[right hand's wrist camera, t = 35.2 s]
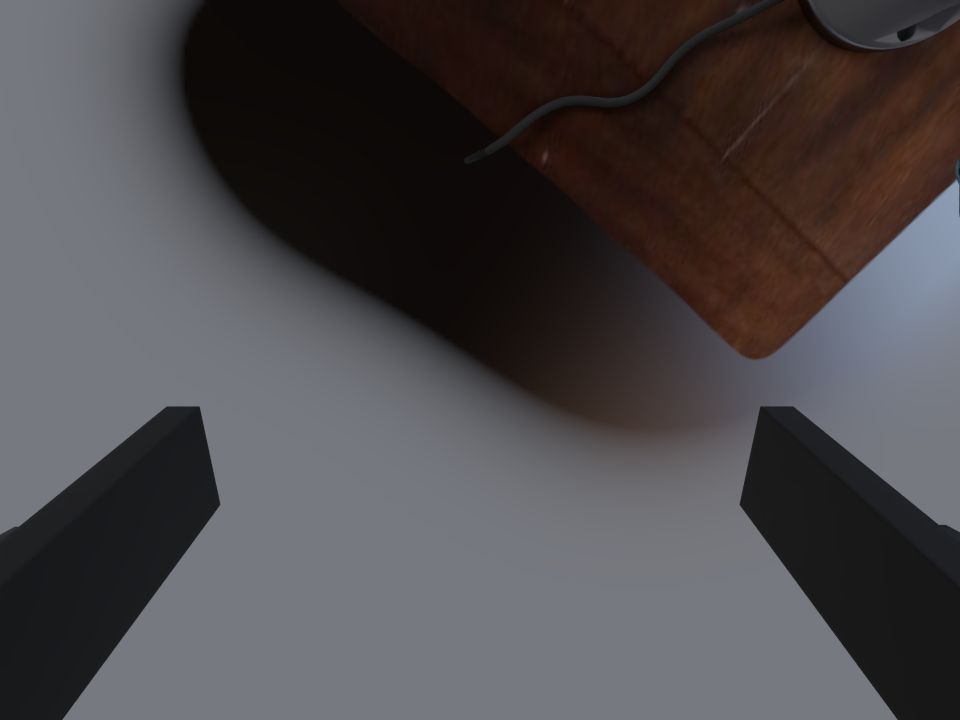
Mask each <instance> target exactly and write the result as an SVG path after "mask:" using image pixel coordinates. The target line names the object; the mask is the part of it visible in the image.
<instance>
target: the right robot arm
mask: <svg viewBox="0 0 960 720" xmlns="http://www.w3.org/2000/svg"><path fill="white" fill-rule="evenodd" d="M782 1H784V0H763V1H761V2H759V3H757V4H755V5H753V6H751V7H749V8H747V9H745V10H743V11H741V12H739V13H737V14H735V15H733V16H731V17H729V18H727V19H724V20H722V21H720V22H718V23H716V24H714V25H712V26H710V27H708V28H707V29H705V30H703V31H701V32H700V33H698V34H697V35H695V36H694V37H692V38H691V39H689V40H688V41H687V42H685V43H684V44H683V45H682V46H681V47H679V48H678V49H677V50H676V51H675V52H674V53H673V54H672V55H671V57H670V58H669V59H668V60H667V61H666V62H665V64H664V65H663V66H662V67H661V68H660V70H659V71H658V72H657V73H656V74H655V75H654V76H653V78H652V79H651V80H650V81H649V82H648V83H646V84H645V85H644V86H643V87H641V88H640V89H638V90H637V91H635V92H633V93H631V94H629V95H626V96H623V97H618V98H601V97H592V96H567V97H562V98H559V99H556V100H553V101H551V102H549V103H547V104H545V105H543V106H541V107H539V108H538V109H536V110H535V111H533V112H532V113H530V114H529V115H528V116H527V117H525V118H524V119H523V120H522V121H520V122H519V123H518V124H517V125H516V126H514V127H513V128H512V129H511V130H510V131H509V132H507V133H506V134H505V135H504V136H502V137H501V138H500V139H498V140H497V141H495V142H494V143H492V144H491V145H489V146H487V147H486V148H484V149H482V150H481V151H478V152H475V153H473V154H472V155H470V156H468V157H466V158H465V159H464V162H465V163H466V164H469V163H472V162H474V161H476V160H480V159H483V158H485V157H487V156H489V155H491V154H492V153H494V152H496V151H497V150H499V149H500V148H502V147H503V146H505V145H506V144H507V143H509V142H510V141H511V140H513V139H514V138H515V137H516V136H517V135H519V134H520V133H521V132H522V131H523V130H525V129H526V128H527V127H528V126H529V125H531V124H532V123H533V122H535V121H536V120H537V119H539V118H540V117H542V116H544V115H545V114H547V113H549V112H551V111H553V110H556V109H558V108H561V107H565V106H571V105H585V106H594V107H604V108H613V107H621V106H625V105H628V104H631V103H633V102H635V101H637V100H639V99H641V98H642V97H644V96H645V95H647V94H648V93H649V92H650V91H652V90H653V89H654V88H655V87H656V86H657V85H658V84H659V82H660V81H661V80H662V79H663V78H664V77H665V76H666V74H667V73H668V72H669V71H670V70H671V68H672V67H673V66H674V65H675V64H676V63H677V62H678V61H679V60H680V59H681V58H682V57H683V56H684V55H685V54H686V53H687V52H688V51H690V50H691V49H692V48H694V47H695V46H697V45H698V44H700V43H701V42H703V41H704V40H706V39H708V38H710V37H712V36H713V35H715V34H717V33H720V32H722V31H724V30H726V29H728V28H730V27H732V26H735V25H737V24H739V23H741V22H743V21H745V20H747V19H749V18H751V17H753V16H755V15H757V14H759V13H761V12H763V11H764V10H766V9H768V8H770V7H772V6H774V5H776V4H778V3H780V2H782ZM799 3H800V6H801V8H802V10H803V12H804V14H805V16H806V17H807V19H808V20H809V22H810V23H811V24H812V26H813V27H814V28H815V29H816V30H817V31H818V32H819V33H820V34H821V35H822V36H823V37H825V38H826V39H827V40H829V41H830V42H832V43H834V44H835V45H838V46H840V47H842V48H845V49H849V50H852V51H858V52H882V51H887V50H892V49H896V48H900V47H904V46H908V45H911V44H915V43H917V42H920V41H922V40H925V39H927V38H929V37H931V36H933V35H935V34H937V33H938V32H940V31H942V30H944V29H945V28H947V27H949V26H950V25H952V24H953V23H955V22H956V21H957V20H959V19H960V0H799ZM955 174H956V177H957V180H958V183H959V185H960V158H959V159H958V161H957V164H956V169H955ZM959 188H960V187H959ZM959 215H960V189H959ZM219 506H220V501H219V496H218V491H217V486H216V482H215V477H214V472H213V468H212V463H211V459H210V453H209V449H208V444H207V439H206V435H205V430H204V425H203V421H202V416H201V411H200V407H166V408H164V409H163V410H162V411H161V412H160V413H158V414H157V415H156V416H155V417H153V418H152V419H151V420H150V421H148V422H147V423H146V424H145V425H144V426H142V427H141V428H140V429H139V430H137V431H136V432H135V433H134V434H132V435H131V436H130V437H129V438H128V439H126V440H125V441H124V442H123V443H121V444H120V445H119V446H118V447H117V448H115V449H114V450H113V451H112V452H110V453H109V454H108V455H107V456H105V457H104V458H103V459H102V460H101V461H99V462H98V463H97V464H96V465H94V466H93V467H92V468H91V469H89V470H88V471H87V472H86V473H85V474H83V475H82V476H81V477H80V478H78V479H77V480H76V481H75V482H74V483H72V484H71V485H70V486H69V487H67V488H66V489H65V490H64V491H62V492H61V493H60V494H59V495H57V496H56V497H55V498H54V499H53V500H51V501H50V502H49V503H48V504H46V505H45V506H44V507H43V508H42V509H40V510H39V511H38V512H37V513H35V514H34V515H33V516H32V517H30V518H29V519H28V520H27V521H26V522H24V523H23V524H22V525H21V526H19V527H14V528H12V529H10V530H8V531H6V532H4V533H3V534H1V535H0V720H62V719H63V718H64V717H65V715H66V714H67V713H68V711H69V710H70V708H71V707H72V706H73V704H74V703H75V702H76V700H77V699H78V698H79V696H80V695H81V693H82V692H83V691H84V689H85V688H86V687H87V685H88V684H89V683H90V681H91V680H92V679H93V677H94V676H95V674H96V673H97V672H98V670H99V669H100V668H101V666H102V665H103V664H104V662H105V661H106V660H107V658H108V657H109V655H110V654H111V653H112V651H113V650H114V649H115V647H116V646H117V645H118V643H119V642H120V640H121V639H122V638H123V636H124V635H125V634H126V632H127V631H128V630H129V628H130V627H131V626H132V624H133V623H134V621H135V620H136V619H137V617H138V616H139V615H140V613H141V612H142V611H143V609H144V608H145V607H146V605H147V604H148V602H149V601H150V600H151V598H152V597H153V596H154V594H155V593H156V592H157V590H158V589H159V587H160V586H161V585H162V583H163V582H164V581H165V579H166V578H167V577H168V575H169V574H170V572H171V571H172V570H173V568H174V567H175V566H176V564H177V563H178V562H179V560H180V559H181V558H182V556H183V555H184V553H185V552H186V551H187V549H188V548H189V547H190V545H191V544H192V543H193V541H194V540H195V538H196V537H197V536H198V534H199V533H200V532H201V530H202V529H203V528H204V526H205V525H206V524H207V522H208V521H209V519H210V518H211V517H212V515H213V514H214V513H215V511H216V510H217V509H218V507H219ZM740 506H741V507H742V509H743V510H744V511H745V513H746V514H747V515H748V517H749V518H750V519H751V521H752V522H753V524H754V525H755V526H756V527H757V529H758V530H759V532H760V533H761V534H762V536H763V537H764V538H765V540H766V541H767V543H768V544H769V545H770V547H771V548H772V549H773V551H774V552H775V553H776V555H777V556H778V558H779V559H780V560H781V562H782V563H783V564H784V566H785V567H786V568H787V570H788V571H789V573H790V574H791V575H792V577H793V578H794V579H795V581H796V582H797V583H798V585H799V586H800V587H801V589H802V590H803V592H804V593H805V594H806V596H807V597H808V598H809V600H810V601H811V602H812V604H813V605H814V606H815V608H816V609H817V611H818V612H819V613H820V615H821V616H822V617H823V619H824V620H825V621H826V623H827V624H828V626H829V627H830V628H831V630H832V631H833V632H834V634H835V635H836V636H837V638H838V639H839V640H840V642H841V643H842V645H843V646H844V647H845V648H846V650H847V651H848V653H849V654H850V655H851V657H852V658H853V660H854V661H855V662H856V663H857V665H858V666H859V668H860V669H861V670H862V672H863V673H864V674H865V676H866V677H867V679H868V680H869V681H870V683H871V684H872V685H873V687H874V688H875V689H876V691H877V692H878V693H879V695H880V696H881V698H882V699H883V700H884V702H885V703H886V704H887V706H888V707H889V708H890V710H891V711H892V713H893V714H894V715H895V717H896V718H897V719H898V720H960V532H958V531H956V530H954V529H952V528H951V527H949V526H947V525H938V524H937V523H936V522H934V521H933V520H932V519H931V518H930V517H928V516H927V515H926V514H925V513H923V512H922V511H921V510H920V509H918V508H917V507H916V506H915V505H914V504H912V503H911V502H910V501H909V500H907V499H906V498H905V497H904V496H902V495H901V494H900V493H899V492H898V491H896V490H895V489H894V488H893V487H891V486H890V485H889V484H888V483H887V482H885V481H884V480H883V479H882V478H880V477H879V476H878V475H877V474H875V473H874V472H873V471H872V470H871V469H869V468H868V467H867V466H866V465H864V464H863V463H862V462H861V461H859V460H858V459H857V458H856V457H855V456H853V455H852V454H851V453H850V452H848V451H847V450H846V449H845V448H844V447H842V446H841V445H840V444H839V443H837V442H836V441H835V440H834V439H832V438H831V437H830V436H829V435H828V434H826V433H825V432H824V431H823V430H821V429H820V428H819V427H818V426H816V425H815V424H814V423H813V422H812V421H810V420H809V419H808V418H807V417H805V416H804V415H803V414H802V413H800V412H799V411H798V410H797V409H796V408H794V407H760V411H759V416H758V421H757V425H756V430H755V435H754V439H753V444H752V449H751V453H750V458H749V463H748V468H747V472H746V477H745V482H744V486H743V491H742V496H741V501H740Z"/></svg>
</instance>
